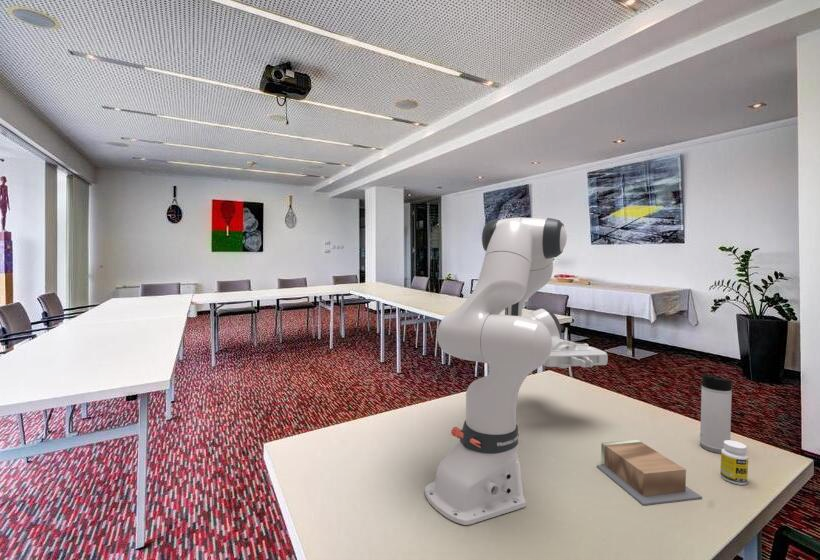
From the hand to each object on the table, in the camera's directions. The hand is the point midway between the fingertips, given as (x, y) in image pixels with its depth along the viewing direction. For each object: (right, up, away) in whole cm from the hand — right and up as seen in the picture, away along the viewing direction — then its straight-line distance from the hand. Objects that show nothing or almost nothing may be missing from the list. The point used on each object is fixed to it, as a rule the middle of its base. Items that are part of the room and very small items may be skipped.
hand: (588, 364), depth 106 cm
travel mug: (+32, -22, -5) cm, 39 cm away
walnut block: (+2, -19, -12) cm, 23 cm away
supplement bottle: (+24, -22, -20) cm, 38 cm away
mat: (+4, -22, -20) cm, 30 cm away
